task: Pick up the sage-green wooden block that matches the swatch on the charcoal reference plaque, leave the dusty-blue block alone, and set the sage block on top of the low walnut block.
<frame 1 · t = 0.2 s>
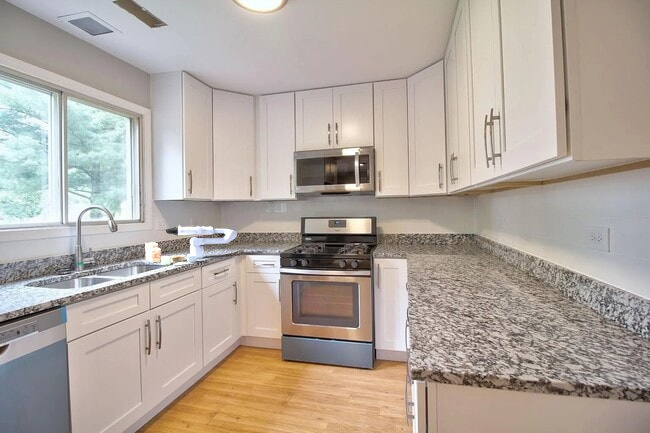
hand: (166, 231, 216), 22 cm above the worktop, tool horizontal, fingers open, 7 cm apart
sage block: (166, 264, 203), on the worktop
dusty blue block: (191, 262, 211), on the worktop
reference plaque: (181, 264, 201), on the worktop
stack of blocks: (153, 260, 219), on the worktop
walnut base block: (177, 261, 214), on the worktop
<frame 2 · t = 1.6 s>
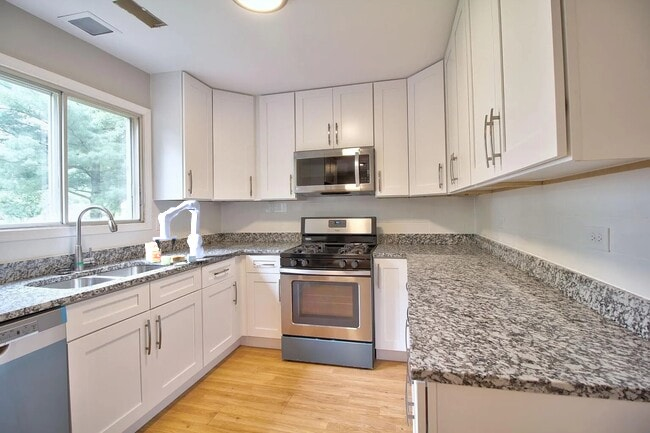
hand: (165, 250, 203), 9 cm above the worktop, tool pointing down, fingers open, 7 cm apart
nothing on the worktop moved.
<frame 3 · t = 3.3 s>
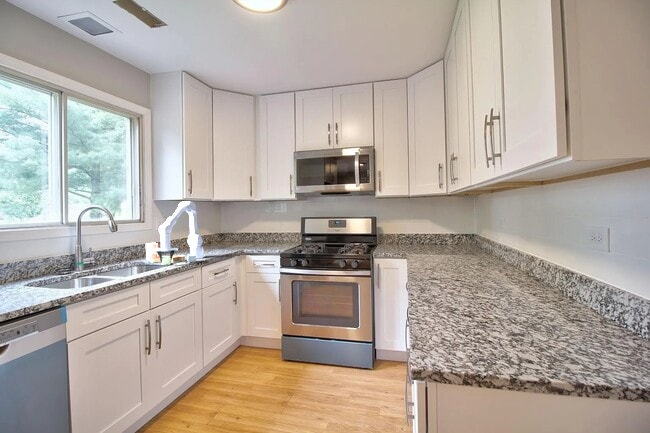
hand: (166, 262, 203), 1 cm above the worktop, tool pointing down, fingers closed on sage block, 5 cm apart
sage block: (166, 264, 203), on the worktop, touching gripper
everything else where it was.
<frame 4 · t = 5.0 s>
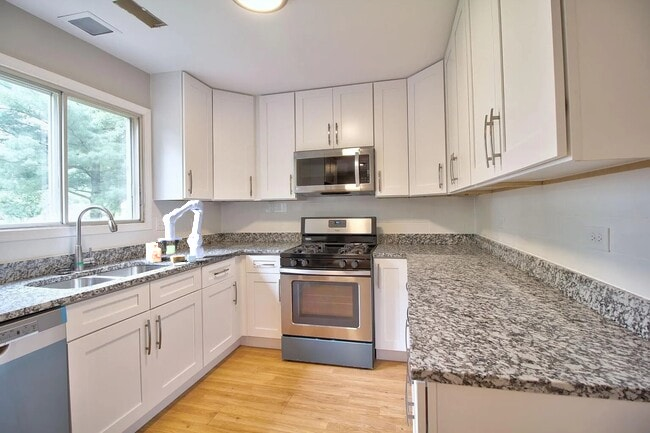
hand: (170, 251, 207), 8 cm above the worktop, tool pointing down, fingers closed on sage block, 5 cm apart
sage block: (170, 253, 207), point 7 cm above the worktop, touching gripper
everything else where it was.
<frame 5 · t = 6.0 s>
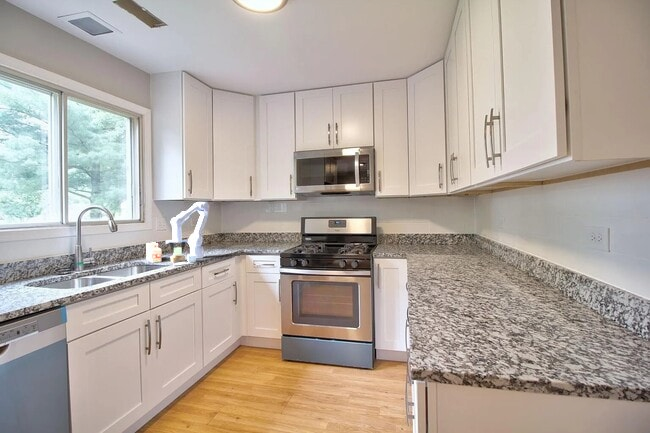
hand: (177, 252, 214), 6 cm above the worktop, tool pointing down, fingers closed on sage block, 5 cm apart
sage block: (177, 254, 214), point 5 cm above the worktop, touching gripper
everything else where it was.
when the fingers open (6 cm above the worktop, at t = 6.9 s): sage block stays where it is, point 4 cm above the worktop.
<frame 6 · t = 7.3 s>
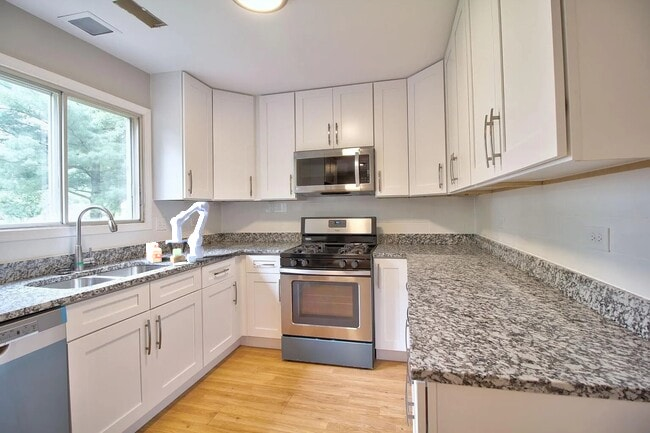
hand: (177, 252, 214), 6 cm above the worktop, tool pointing down, fingers open, 7 cm apart
sage block: (177, 256, 214), point 4 cm above the worktop
everything else where it was.
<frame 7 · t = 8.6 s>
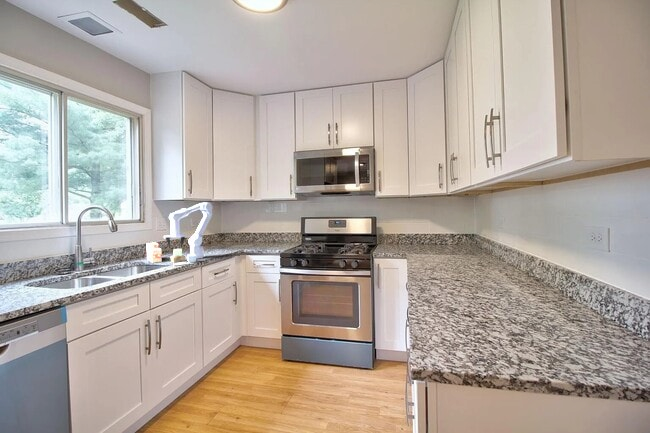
hand: (175, 247, 216), 9 cm above the worktop, tool pointing down, fingers open, 7 cm apart
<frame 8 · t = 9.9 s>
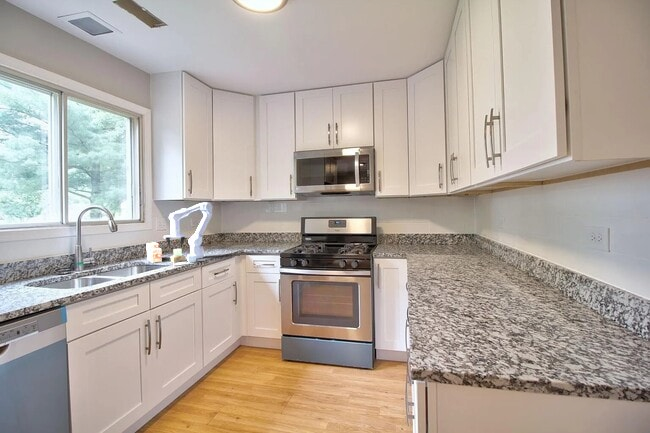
hand: (175, 247, 216), 9 cm above the worktop, tool pointing down, fingers open, 7 cm apart
sage block: (177, 256, 214), point 4 cm above the worktop, touching walnut base block
walnut base block: (178, 261, 214), on the worktop, touching sage block
at the end: sage block 0.0 cm off-centre on the walnut base block, point 4.0 cm above the walnut base block's base; sage block tilted 0°; the gripper is holding nothing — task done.
